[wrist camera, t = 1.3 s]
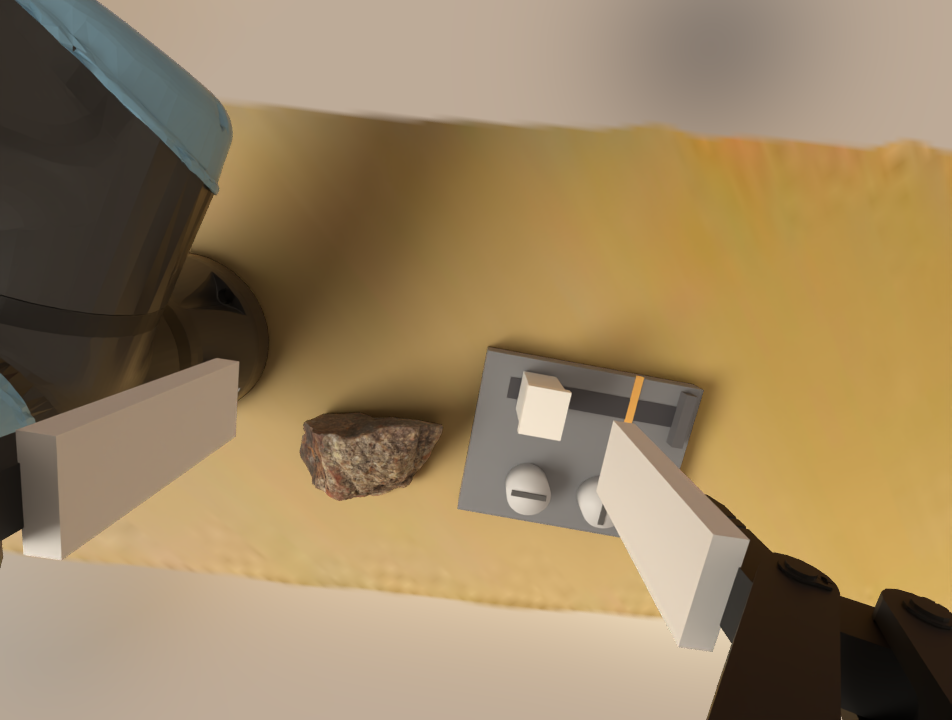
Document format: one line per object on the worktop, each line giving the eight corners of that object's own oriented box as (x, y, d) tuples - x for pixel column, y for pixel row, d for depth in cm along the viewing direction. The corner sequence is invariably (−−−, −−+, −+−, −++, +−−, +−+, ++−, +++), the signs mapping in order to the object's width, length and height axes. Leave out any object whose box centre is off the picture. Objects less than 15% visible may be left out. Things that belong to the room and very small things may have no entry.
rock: (306, 387, 44) (307, 479, 46) (255, 414, 35) (259, 526, 37) (450, 401, 42) (444, 495, 44) (433, 433, 34) (426, 547, 36)
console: (458, 498, 45) (455, 523, 40) (488, 344, 41) (488, 353, 37) (649, 531, 45) (667, 560, 41) (694, 382, 42) (719, 396, 37)
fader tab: (513, 410, 40) (518, 433, 34) (521, 368, 39) (528, 385, 34) (549, 416, 40) (560, 441, 35) (559, 375, 39) (571, 393, 34)
